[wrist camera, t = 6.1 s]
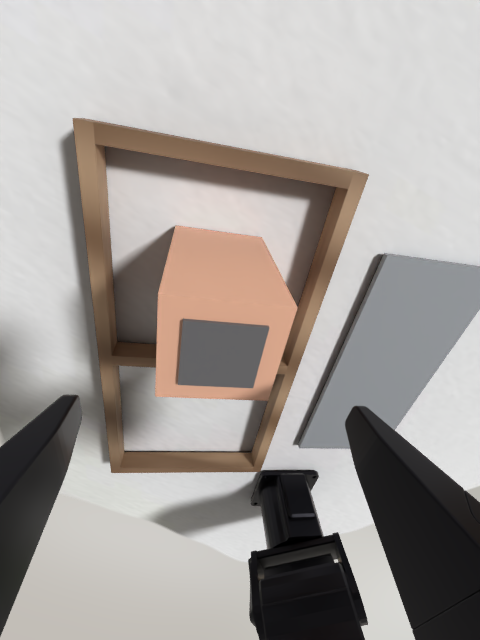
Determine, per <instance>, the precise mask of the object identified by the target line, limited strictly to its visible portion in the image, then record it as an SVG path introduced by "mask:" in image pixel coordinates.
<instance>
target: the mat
mask: <svg viewBox="0 0 480 640" xmlns="http://www.w3.org/2000/svg"><path fill="white" fill-rule="evenodd" d="M479 309H480V266H473V265H466V264H459V263H452V262H444V261H437V260H430V259H423V258H416V257H409V256H401V255H394V254H387V253H384V255H383V257H382V259H381V262H380V264H379V266H378V268H377V270H376V273H375V275H374V277H373V279H372V282H371V284H370V286H369V288H368V290H367V293H366V295H365V297H364V299H363V302H362V304H361V306H360V308H359V311H358V313H357V315H356V317H355V319H354V322H353V324H352V326H351V328H350V331H349V333H348V335H347V337H346V339H345V342H344V344H343V346H342V348H341V351H340V353H339V355H338V357H337V359H336V362H335V364H334V366H333V368H332V371H331V373H330V375H329V377H328V380H327V382H326V384H325V386H324V388H323V391H322V393H321V395H320V397H319V400H318V402H317V404H316V406H315V408H314V411H313V413H312V415H311V417H310V420H309V422H308V424H307V426H306V428H305V431H304V433H303V435H302V437H301V440H300V442H299V444H298V445H299V448H346V449H350V445H349V441H348V437H347V433H346V429H345V420H346V418H347V416H348V415H349V413H350V411H351V409H352V407H354V406H366V407H367V408H369V409H370V410H371V411H372V412H373V413H375V414H376V415H377V416H378V417H379V418H381V419H382V420H383V421H384V422H385V423H386V424H388V425H389V426H390V427H391V428H392V429H394V430H395V429H396V428H397V426H398V425H399V423H400V422H401V420H402V419H403V418H404V416H405V415H406V413H407V412H408V410H409V409H410V408H411V406H412V405H413V403H414V402H415V400H416V399H417V398H418V396H419V395H420V393H421V392H422V391H423V389H424V388H425V386H426V385H427V383H428V382H429V381H430V379H431V378H432V376H433V375H434V373H435V372H436V371H437V369H438V368H439V366H440V365H441V363H442V362H443V361H444V359H445V358H446V356H447V355H448V354H449V352H450V351H451V349H452V348H453V346H454V345H455V344H456V342H457V341H458V339H459V338H460V336H461V335H462V334H463V332H464V331H465V329H466V328H467V327H468V325H469V324H470V322H471V321H472V319H473V318H474V317H475V315H476V314H477V312H478V311H479Z"/></svg>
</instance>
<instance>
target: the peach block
mask: <svg viewBox="0 0 480 640" xmlns="http://www.w3.org/2000/svg"><path fill="white" fill-rule="evenodd" d="M297 308H298V307H297V305H296V303H295V301H294V299H293V297H292V296H291V294H290V292H289V290H288V288H287V286H286V284H285V282H284V280H283V278H282V276H281V274H280V272H279V270H278V268H277V266H276V264H275V262H274V260H273V258H272V256H271V254H270V252H269V250H268V248H267V246H266V245H265V243H264V241H263V239H262V237H255V236H248V235H241V234H233V233H226V232H219V231H212V230H204V229H197V228H190V227H183V226H175V230H174V234H173V237H172V241H171V245H170V249H169V253H168V257H167V261H166V265H165V268H164V272H163V276H162V280H161V284H160V288H159V292H158V309H157V348H156V388H155V397H182V398H208V399H235V400H262V401H268V399H269V396H270V393H271V390H272V387H273V383H274V380H275V377H276V374H277V371H278V368H279V365H280V361H281V358H282V355H283V352H284V349H285V346H286V343H287V339H288V336H289V333H290V330H291V327H292V324H293V321H294V317H295V314H296V311H297Z"/></svg>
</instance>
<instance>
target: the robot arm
mask: <svg viewBox="0 0 480 640" xmlns="http://www.w3.org/2000/svg"><path fill="white" fill-rule="evenodd" d="M81 420H82V410H81V404H80V398H79V396H78V395H63V396H61V397H60V398H59V399H57V400H56V401H55V402H54V403H53V404H51V405H50V406H49V407H48V408H47V409H45V410H44V411H43V412H42V413H41V414H39V415H38V416H37V417H36V418H35V419H33V420H32V421H31V422H30V423H29V424H27V425H26V426H25V427H24V428H23V429H21V430H20V431H19V432H18V433H17V434H16V435H14V436H13V437H12V438H11V439H10V440H8V441H7V442H6V443H5V444H4V445H2V446H1V447H0V636H1V634H2V631H3V629H4V626H5V624H6V621H7V619H8V616H9V614H10V611H11V609H12V606H13V604H14V601H15V599H16V596H17V594H18V592H19V589H20V586H21V584H22V582H23V579H24V577H25V574H26V572H27V569H28V567H29V564H30V562H31V559H32V557H33V554H34V552H35V549H36V547H37V545H38V542H39V540H40V537H41V535H42V532H43V530H44V527H45V525H46V522H47V520H48V517H49V515H50V513H51V510H52V508H53V505H54V503H55V500H56V498H57V495H58V493H59V490H60V488H61V485H62V483H63V480H64V478H65V475H66V472H67V470H68V466H69V463H70V459H71V456H72V452H73V449H74V445H75V442H76V438H77V434H78V431H79V427H80V424H81ZM345 429H346V433H347V437H348V441H349V445H350V449H351V453H352V457H353V461H354V465H355V469H356V472H357V475H358V478H359V481H360V483H361V486H362V489H363V492H364V495H365V498H366V500H367V503H368V506H369V509H370V512H371V515H372V517H373V520H374V523H375V526H376V529H377V531H378V534H379V537H380V540H381V542H382V546H383V548H384V551H385V554H386V557H387V560H388V563H389V565H390V568H391V571H392V574H393V577H394V579H395V582H396V585H397V588H398V591H399V594H400V597H401V599H402V602H403V605H404V608H405V611H406V614H407V616H408V619H409V622H410V625H411V628H412V629H413V634H414V637H415V640H480V502H478V501H477V500H476V499H475V498H474V497H473V496H471V495H470V494H469V493H468V492H467V491H464V489H463V488H462V487H461V486H460V485H458V484H457V483H456V482H455V481H454V480H453V479H451V478H450V477H449V476H448V475H447V474H445V473H444V472H443V471H442V470H441V469H440V468H438V467H437V466H436V465H435V464H434V463H432V462H431V461H430V460H429V459H428V458H427V457H425V456H424V455H423V454H422V453H421V452H420V451H418V450H417V449H416V448H415V447H414V446H412V445H411V444H410V443H409V442H408V441H407V440H405V439H404V438H403V437H402V436H401V435H399V434H398V433H397V432H396V431H395V430H394V429H392V428H391V427H390V426H389V425H388V424H386V423H385V422H384V421H383V420H382V419H381V418H379V417H378V416H377V415H376V414H375V413H373V412H372V411H371V410H370V409H369V408H367V407H366V406H354V407H352V409H351V411H350V413H349V415H348V416H347V418H346V420H345ZM318 477H319V475H318V472H316V471H265V472H262V473H261V474H260V477H259V480H258V482H257V485H256V488H255V490H254V493H253V496H252V499H251V505H252V506H261V510H262V517H263V524H264V530H265V537H266V544H267V549H266V550H262V551H252V552H251V558H250V559H249V560H248V562H249V571H250V621H251V623H252V624H253V625H254V626H255V627H256V630H257V633H258V636H259V640H365V638H364V635H363V632H362V629H361V626H363V625H368V622H367V617H366V613H365V610H364V606H363V603H362V599H361V596H360V593H359V590H358V587H357V584H356V581H355V578H354V576H353V573H352V570H351V567H350V564H349V562H348V559H347V556H346V553H345V551H344V548H343V545H342V542H341V539H340V536H339V534H338V532H337V533H333V535H329V536H325V537H324V536H323V532H322V529H321V526H320V522H319V519H318V515H317V512H316V508H315V505H314V502H313V498H312V495H311V490H312V488H313V486H314V484H315V483H316V481H317V479H318ZM334 559H338V563H334Z"/></svg>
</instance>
